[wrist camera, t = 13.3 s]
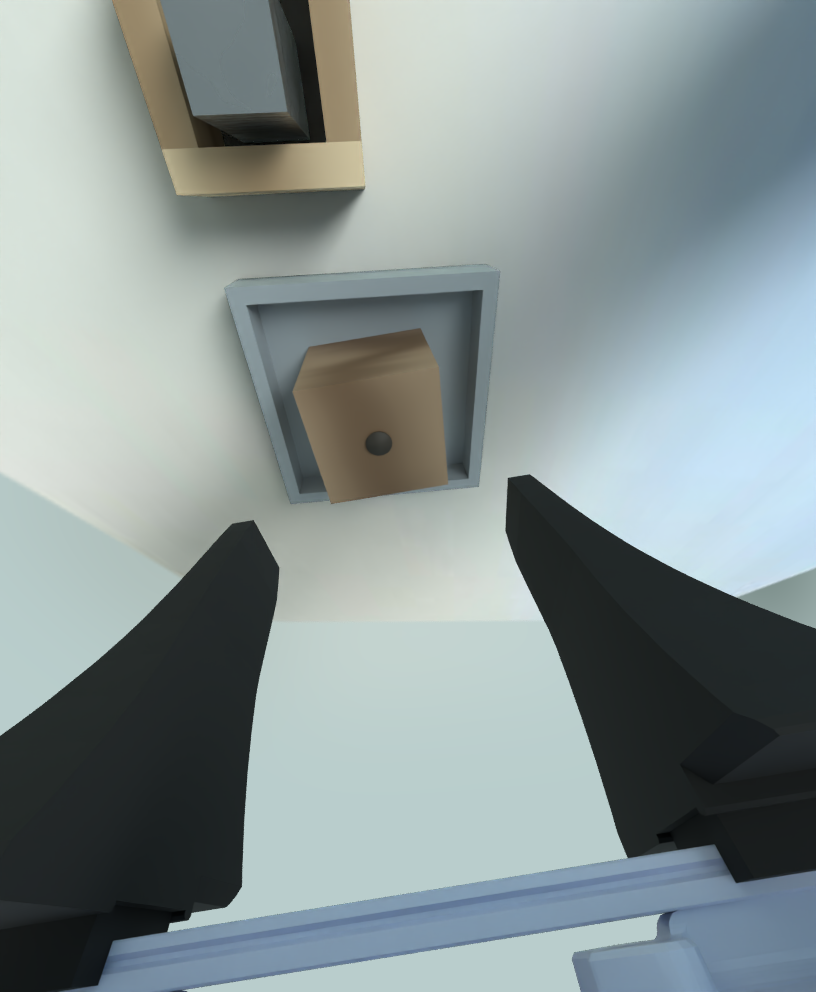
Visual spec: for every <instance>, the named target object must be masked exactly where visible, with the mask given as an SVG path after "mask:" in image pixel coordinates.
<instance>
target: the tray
mask: <svg viewBox="0 0 816 992" xmlns="http://www.w3.org/2000/svg"><path fill="white" fill-rule="evenodd" d="M499 278H500V271H499V270H497V269H495V268H493V267H491V266H489V265H487V264H480V265H463V266H447V267H430V268H414V269H397V270H381V271H364V272H348V273H331V274H315V275H298V276H282V277H266V278H249V279H238V280H236V281H235V282H233V283H231V284H230V285H228V286H226V287H225V288H224V289H225V293H226V296H227V299H228V302H229V306H230V309H231V312H232V315H233V319H234V322H235V325H236V328H237V331H238V335H239V338H240V341H241V344H242V348H243V351H244V354H245V357H246V361H247V364H248V367H249V370H250V374H251V377H252V380H253V383H254V386H255V390H256V393H257V396H258V399H259V403H260V406H261V409H262V412H263V416H264V419H265V422H266V425H267V429H268V432H269V435H270V438H271V442H272V445H273V448H274V451H275V454H276V458H277V461H278V464H279V467H280V471H281V474H282V477H283V480H284V484H285V487H286V490H287V493H288V497H289V500H290V503H291V504H297V503H308V502H318V501H329V500H330V499H329V496H328V493H327V490H326V488H325V485H324V482H323V479H322V476H321V473H320V470H319V467H318V464H317V461H316V459H315V456H314V453H313V450H312V447H311V444H310V441H309V438H308V435H307V432H306V430H305V427H304V424H303V421H302V418H301V415H300V412H299V409H298V406H297V403H296V401H295V398H294V395H293V392H292V391H293V389H294V386H295V383H296V381H297V378H298V375H299V372H300V370H301V367H302V364H303V361H304V359H305V356H306V353H307V351H308V348H309V347H311V346H317V345H323V344H329V343H335V342H341V341H346V340H352V339H358V338H364V337H370V336H376V335H382V334H388V333H394V332H400V331H406V330H412V329H418V328H421V330H422V332H423V335H424V337H425V339H426V341H427V343H428V345H429V347H430V349H431V351H432V354H433V356H434V358H435V360H436V362H437V364H438V366H439V374H440V387H441V399H442V412H443V424H444V437H445V449H446V462H447V474H448V485H442V486H436V487H430V488H424V489H418V490H412V491H406V492H400V493H394V494H405V493H416V492H426V491H437V490H448V489H459V488H470V487H479V479H480V469H481V459H482V449H483V439H484V429H485V419H486V409H487V399H488V389H489V379H490V369H491V358H492V348H493V338H494V328H495V318H496V308H497V298H498V288H499ZM394 494H388V495H394ZM382 496H383V495H382Z"/></svg>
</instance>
